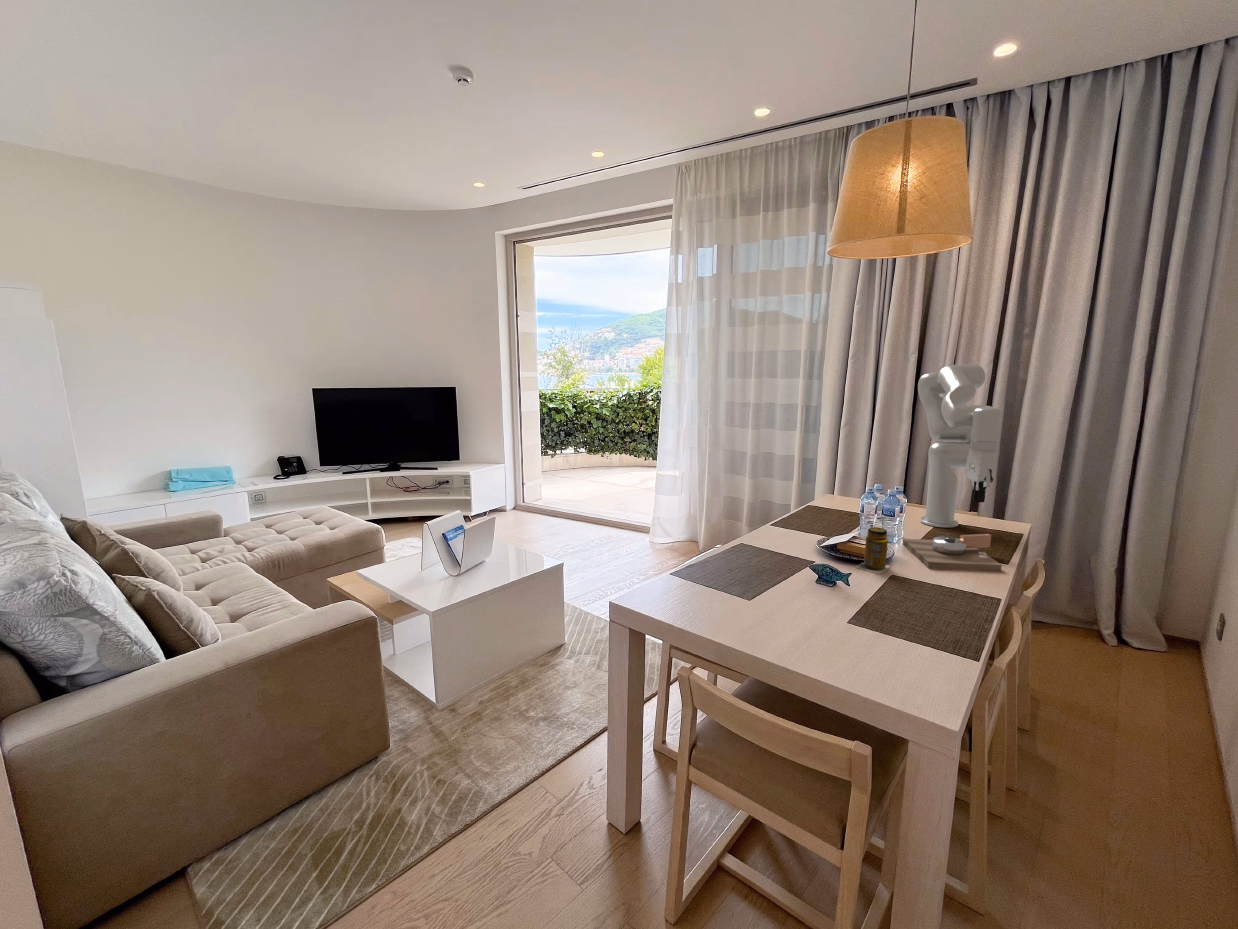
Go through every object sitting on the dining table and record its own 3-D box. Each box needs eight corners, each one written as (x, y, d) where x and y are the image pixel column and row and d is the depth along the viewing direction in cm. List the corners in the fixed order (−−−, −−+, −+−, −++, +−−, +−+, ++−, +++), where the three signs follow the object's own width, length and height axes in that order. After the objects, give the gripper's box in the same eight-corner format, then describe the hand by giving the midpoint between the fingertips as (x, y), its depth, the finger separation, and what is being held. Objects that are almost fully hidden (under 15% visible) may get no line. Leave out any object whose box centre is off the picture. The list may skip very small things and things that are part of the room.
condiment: (890, 566, 163) (893, 529, 161) (879, 574, 158) (882, 535, 155) (866, 560, 168) (868, 524, 166) (855, 568, 163) (857, 530, 160)
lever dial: (945, 555, 165) (946, 541, 164) (926, 546, 174) (927, 532, 173) (1000, 552, 167) (1001, 538, 166) (978, 543, 176) (979, 530, 175)
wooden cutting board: (902, 544, 183) (903, 538, 182) (966, 546, 179) (967, 540, 179) (928, 568, 161) (928, 561, 161) (1001, 571, 158) (1002, 564, 158)
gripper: (960, 442, 179) (955, 496, 182) (982, 449, 164) (976, 507, 167) (984, 443, 177) (979, 496, 181) (1009, 449, 163) (1002, 507, 166)
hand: (977, 501), depth 174 cm, fingers closed
